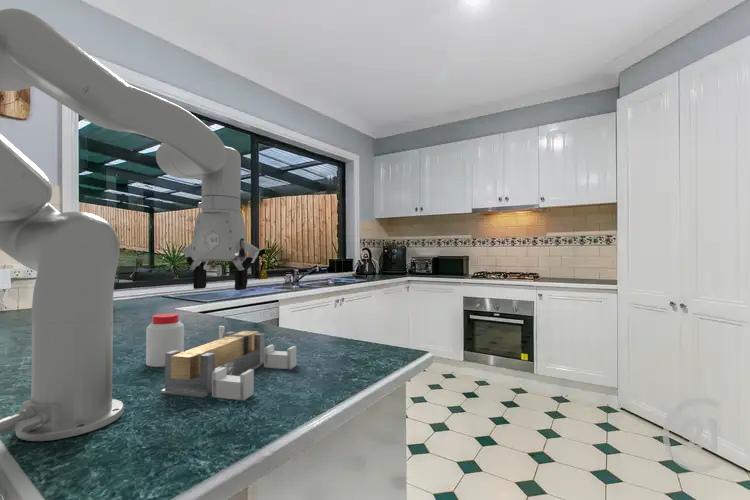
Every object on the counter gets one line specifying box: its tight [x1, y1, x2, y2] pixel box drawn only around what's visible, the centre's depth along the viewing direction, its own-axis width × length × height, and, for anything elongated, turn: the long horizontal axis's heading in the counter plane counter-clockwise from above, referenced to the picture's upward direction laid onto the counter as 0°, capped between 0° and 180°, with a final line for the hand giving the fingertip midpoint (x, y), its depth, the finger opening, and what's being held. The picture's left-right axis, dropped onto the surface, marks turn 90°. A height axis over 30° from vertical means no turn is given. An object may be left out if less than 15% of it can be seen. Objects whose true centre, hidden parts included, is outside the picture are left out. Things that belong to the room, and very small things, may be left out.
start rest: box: [211, 344, 297, 401], centre depth 76 cm, size 21×6×4 cm, turn 167°
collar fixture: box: [160, 325, 266, 398], centre depth 78 cm, size 22×9×9 cm, turn 167°
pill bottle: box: [145, 312, 185, 368], centre depth 88 cm, size 8×8×11 cm
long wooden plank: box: [171, 330, 260, 380], centre depth 78 cm, size 23×4×4 cm, turn 167°
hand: (220, 289), depth 78 cm, fingers open, 9 cm apart
